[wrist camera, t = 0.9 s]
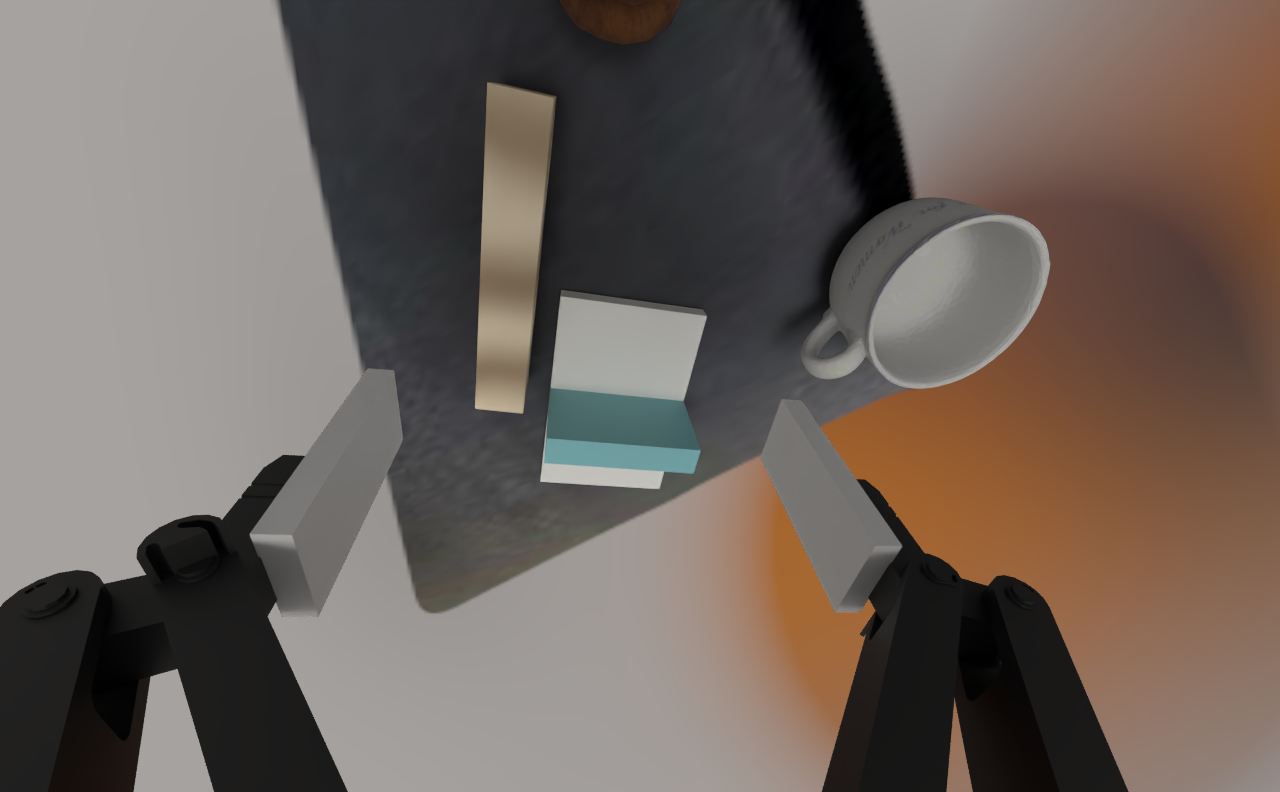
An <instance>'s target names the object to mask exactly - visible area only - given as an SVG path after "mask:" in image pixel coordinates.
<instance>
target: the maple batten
mask: <svg viewBox="0 0 1280 792" xmlns="http://www.w3.org/2000/svg"><path fill="white" fill-rule="evenodd" d="M556 98H557V96H554V95H550V94H545V93H541V92H537V91H533V90H528V89H524V88H520V87H516V86H511V85H507V84H503V83H487V104H486V131H485V158H484V185H483V212H482V238H481V265H480V292H479V319H478V346H477V373H476V400H475V409H483V410H493V411H503V412H513V413H522V414H523V410H524V403H525V397H526V390H527V384H528V377H529V367H530V358H531V348H532V338H533V328H534V318H535V308H536V298H537V288H538V278H539V268H540V258H541V248H542V238H543V228H544V218H545V208H546V198H547V188H548V178H549V168H550V158H551V148H552V138H553V128H554V118H555V108H556Z"/></svg>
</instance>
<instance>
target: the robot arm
mask: <svg viewBox="0 0 1280 792" xmlns="http://www.w3.org/2000/svg"><path fill="white" fill-rule="evenodd" d="M402 440H403V436H402V428H401V420H400V413H399V405H398V398H397V390H396V382H395V375H394V370H381V369H367V370H366V372H365V373H364V374H363V376H362V377H361V379H360V380H359V382H358V383H357V384H356V386H355V387H354V389H353V390H352V391H351V393H350V394H349V395H348V397H347V398H346V400H345V401H344V403H343V404H342V405H341V407H340V408H339V409H338V411H337V412H336V414H335V415H334V417H333V418H332V419H331V421H330V422H329V423H328V425H327V426H326V428H325V429H324V431H323V432H322V433H321V435H320V436H319V438H318V439H317V440H316V442H315V443H314V445H313V446H312V447H311V449H310V450H309V451H308V453H307V454H306V456H295V455H282V456H281V457H280V458H278V459H276V460H275V461H274V462H272V463H270V464H269V465H267V466H266V467H264V468H263V469H262V471H261V472H260V473H259V474H258V476H257V477H256V478H255V480H254V481H253V482H252V485H251V486H249V487H248V488H247V489H246V491H245V492H244V493H243V494H242V498H241V499H238V501H237V502H236V503H235V504H234V506H233V507H232V508H231V509H230V511H229V512H228V513H227V514H226V516H225V517H224V518H223V520H221V519H220V518H219V517H215V516H211V515H194V516H189V517H185V518H182V519H178V520H174V521H172V522H170V523H168V524H166V525H164V526H162V527H159V528H158V529H157V530H155V531H154V532H153V533H151V534H150V535H148V536H147V537H146V538H145V539H144V541H143V542H142V543H141V545H140V546H139V547H138V550H137V560H138V561H139V563H140V565H141V567H142V568H143V570H144V572H145V573H146V575H144V576H139V577H134V578H130V579H126V580H120V581H116V582H111V583H106V584H104V583H103V582H102V580H101V579H100V578H99V577H98V576H96V575H95V574H94V573H92V572H89V571H80V570H75V571H69V572H62V573H57V574H55V575H52V576H49V577H46V578H43V579H40V580H38V581H36V582H34V583H32V584H30V585H28V586H27V587H25V588H23V589H21V590H19V591H18V592H17V593H15V594H14V595H13V596H12V597H10V598H9V599H8V600H6V601H5V602H4V603H3V604H2V606H1V607H0V792H133V791H134V785H135V778H136V771H137V764H138V757H139V749H140V744H141V737H142V730H143V723H144V717H145V710H146V703H147V696H148V690H149V683H150V676H153V675H157V674H160V673H164V672H168V671H171V670H175V669H178V672H179V675H180V678H181V682H182V685H183V688H184V692H185V695H186V699H187V702H188V705H189V709H190V712H191V715H192V719H193V722H194V725H195V729H196V732H197V736H198V739H199V742H200V746H201V749H202V752H203V756H204V759H205V763H206V766H207V769H208V773H209V776H210V779H211V783H212V786H213V790H214V792H348V791H347V789H346V787H345V785H344V783H343V780H342V778H341V776H340V774H339V772H338V769H337V767H336V765H335V763H334V761H333V759H332V756H331V754H330V752H329V750H328V748H327V746H326V743H325V741H324V739H323V737H322V735H321V732H320V730H319V728H318V726H317V724H316V721H315V719H314V717H313V715H312V713H311V711H310V708H309V706H308V704H307V702H306V700H305V697H304V695H303V693H302V691H301V689H300V687H299V684H298V682H297V680H296V678H295V676H294V673H293V671H292V669H291V667H290V665H289V662H288V660H287V658H286V656H285V654H284V652H283V649H282V647H281V645H280V643H279V641H278V639H277V636H276V634H275V632H274V630H273V628H272V626H271V623H270V621H269V619H268V614H269V613H270V611H271V610H272V608H273V606H274V604H275V603H277V606H278V608H279V610H280V613H281V616H282V617H298V616H300V617H302V616H303V617H305V616H319V614H320V612H321V610H322V608H323V606H324V604H325V602H326V599H327V598H328V595H329V593H330V591H331V589H332V587H333V585H334V583H335V581H336V579H337V577H338V574H339V572H340V570H341V568H342V566H343V564H344V562H345V560H346V558H347V556H348V553H349V551H350V549H351V547H352V545H353V543H354V541H355V539H356V537H357V535H358V532H359V531H360V528H361V526H362V524H363V522H364V520H365V518H366V516H367V514H368V511H369V509H370V507H371V505H372V503H373V501H374V499H375V497H376V495H377V493H378V491H379V489H380V487H381V484H382V482H383V480H384V478H385V476H386V474H387V472H388V470H389V468H390V466H391V463H392V461H393V459H394V457H395V455H396V453H397V451H398V449H399V447H400V445H401V443H402ZM760 458H761V460H762V462H763V464H764V466H765V468H766V470H767V472H768V475H769V476H770V479H771V480H772V483H773V485H774V487H775V489H776V491H777V493H778V495H779V497H780V499H781V501H782V503H783V506H784V508H785V510H786V512H787V514H788V516H789V518H790V520H791V522H792V524H793V526H794V528H795V531H796V533H797V535H798V537H799V539H800V541H801V543H802V545H803V547H804V549H805V551H806V553H807V555H808V557H809V560H810V561H811V564H812V566H813V568H814V570H815V572H816V574H817V576H818V578H819V580H820V582H821V584H822V586H823V588H824V591H825V593H826V595H827V597H828V599H829V601H830V603H831V605H832V607H833V609H834V611H835V612H860V611H861V610H862V608H863V606H864V605H865V603H866V602H867V600H868V599H869V600H870V601H871V603H872V605H873V607H874V609H875V610H876V611H875V612H874V614H873V615H872V617H871V618H870V620H869V621H868V623H867V624H866V626H865V627H864V629H863V630H862V632H861V633H860V635H861V636H864V635H865V634H866V636H865V640H864V644H863V647H862V651H861V654H860V658H859V661H858V665H857V669H856V672H855V676H854V679H853V683H852V686H851V690H850V693H849V697H848V700H847V704H846V708H845V711H844V715H843V719H842V722H841V725H840V729H839V732H838V736H837V740H836V743H835V747H834V751H833V754H832V757H831V761H830V765H829V768H828V772H827V775H826V779H825V782H824V786H823V790H822V792H946V789H947V777H948V766H949V754H950V742H951V730H952V719H953V707H954V697H955V702H956V707H957V713H958V718H959V723H960V728H961V733H962V738H963V743H964V748H965V753H966V758H967V764H968V769H969V774H970V779H971V784H972V789H973V792H1128V790H1127V787H1126V785H1125V783H1124V780H1123V778H1122V776H1121V773H1120V771H1119V768H1118V766H1117V764H1116V761H1115V759H1114V757H1113V755H1112V752H1111V750H1110V747H1109V745H1108V743H1107V740H1106V738H1105V736H1104V733H1103V731H1102V729H1101V726H1100V724H1099V722H1098V719H1097V717H1096V715H1095V712H1094V710H1093V708H1092V705H1091V703H1090V701H1089V698H1088V696H1087V694H1086V692H1085V689H1084V687H1083V684H1082V682H1081V680H1080V677H1079V675H1078V673H1077V671H1076V668H1075V666H1074V664H1073V661H1072V659H1071V656H1070V654H1069V652H1068V649H1067V647H1066V645H1065V642H1064V640H1063V638H1062V635H1061V633H1060V631H1059V628H1058V626H1057V624H1056V622H1055V619H1054V617H1053V614H1052V612H1051V610H1050V608H1049V606H1048V604H1047V603H1046V601H1045V600H1044V598H1043V597H1042V596H1041V595H1040V594H1039V593H1038V592H1037V591H1036V590H1035V589H1033V588H1032V587H1031V586H1029V585H1027V584H1026V583H1024V582H1022V581H1020V580H1018V579H1016V578H1014V577H1009V576H1005V575H1003V576H996V578H994V580H993V581H992V582H991V583H990V584H989V585H988V586H986V585H983V584H979V583H976V582H972V581H969V580H965V579H962V578H961V577H960V576H959V574H958V573H957V571H956V570H954V569H953V568H952V567H951V566H950V565H949V564H948V563H946V562H944V561H943V560H942V559H940V558H938V557H936V556H933V555H930V554H925V553H924V552H923V551H922V549H921V548H920V546H919V545H918V544H917V542H916V541H915V540H914V538H913V537H912V536H911V534H910V533H909V532H908V530H907V529H906V527H905V526H904V525H903V523H902V522H901V520H900V519H899V518H898V517H896V514H895V512H894V511H893V509H892V508H891V507H889V506H888V503H887V501H886V500H885V499H884V497H883V496H882V495H881V493H880V492H879V491H878V490H877V489H876V488H875V487H873V486H872V485H871V484H870V483H869V482H867V481H866V480H862V479H856V478H855V477H854V476H853V474H852V473H851V471H850V470H849V468H848V467H847V466H846V464H845V463H844V461H843V460H842V458H841V457H840V455H839V454H838V453H837V451H836V450H835V448H834V447H833V445H832V444H831V442H830V441H829V439H828V438H827V437H826V435H825V434H824V433H823V431H822V429H821V428H820V427H819V425H818V424H817V422H816V421H815V419H814V418H813V416H812V415H811V414H810V412H809V411H808V409H807V408H806V406H805V405H804V403H803V402H802V401H801V400H788V399H782V400H781V403H780V406H779V408H778V411H777V414H776V416H775V419H774V422H773V425H772V427H771V430H770V433H769V435H768V438H767V441H766V444H765V446H764V449H763V452H762V454H761V457H760Z"/></svg>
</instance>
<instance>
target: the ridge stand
mask: <svg viewBox="0 0 1280 792" xmlns="http://www.w3.org/2000/svg"><path fill="white" fill-rule="evenodd" d="M706 318H707V315H706V314H705V312H704V310H703V309H696V308H689V307H682V306H674V305H667V304H660V303H653V302H646V301H638V300H631V299H624V298H617V297H610V296H602V295H595V294H588V293H581V292H573V291H566V290H561V295H560V304H559V313H558V322H557V331H556V341H555V350H554V359H553V368H552V377H551V387H550V396H549V405H548V414H547V424H546V433H545V442H544V451H543V460H542V470H541V481H540V482H554V483H570V484H586V485H602V486H618V487H635V488H651V489H659V488H660V484H661V481H662V477H663V474H664V472H678V473H694V470H695V467H696V464H697V461H698V458H699V455H700V451H701V450H700V447H699V444H698V441H697V438H696V435H695V432H694V430H693V427H692V424H691V421H690V418H689V415H688V412H687V410H686V407H685V404H684V398H685V394H686V390H687V387H688V383H689V379H690V376H691V372H692V369H693V365H694V361H695V358H696V354H697V351H698V347H699V343H700V340H701V336H702V332H703V329H704V325H705V322H706Z"/></svg>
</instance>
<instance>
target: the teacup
mask: <svg viewBox="0 0 1280 792" xmlns="http://www.w3.org/2000/svg"><path fill="white" fill-rule="evenodd" d="M1049 269H1050V262H1049V252H1048V249H1047V245H1046V242H1045V240H1044V238H1043V236H1042V234H1041V233H1040V231H1039V230H1038V229H1037V228H1036V227H1035V226H1033V225H1032V224H1030V223H1029V222H1028V221H1026V220H1023V219H1021V218H1019V217H1016V216H1013V215H1008V214H1002V213H996V212H994V211H991V210H988V209H984V208H981V207H978V206H975V205H971V204H967V203H964V202H960V201H955V200H951V199H944V198H920V199H915V200H910V201H906V202H903V203H900V204H898V205H895V206H893V207H891V208H889V209H887V210H885V211H883V212H881V213H880V214H878V215H877V216H875V217H874V218H872V219H871V220H870V221H869V222H867V223H866V224H865V225H864V226H863V227H862V228H860V229H859V230H858V232H857V233H856V234H855V235H854V236H853V237H852V238H851V239H850V241H849V242H848V243H847V245H846V246H845V248H844V249H843V251H842V253H841V255H840V256H839V258H838V260H837V262H836V265H835V268H834V270H833V273H832V277H831V281H830V290H829V300H830V307H829V309H828V310H826V311H825V313H824V314H823V318H822V320H821V321H820V322H819V323H818V325H817V326H816V327H815V328H814V329H813V330H812V331H811V332H810V334H809V335H808V336H807V338H806V339H805V341H804V343H803V345H802V348H801V359H802V362H803V364H804V366H805V368H806V369H807V371H808V372H809V373H811V374H812V375H814V376H815V377H818V378H821V379H836V378H839V377H842V376H845V375H847V374H849V373H850V372H852V371H853V370H855V369H856V368H857V367H858V366H859V364H860V363H861V362H862V361H863V359H864V358H865V357H866V358H867V359H868V360H869V361H870V362H871V363H872V364H873V365H874V367H875V368H876V369H877V371H878V372H879V373H880V374H881V375H882V376H883V377H884V378H885V379H887V380H888V381H890V382H892V383H894V384H896V385H899V386H902V387H906V388H915V389H924V388H932V387H938V386H941V385H945V384H949V383H952V382H955V381H957V380H960V379H962V378H964V377H966V376H968V375H970V374H972V373H974V372H976V371H977V370H979V369H981V368H982V367H983V366H985V365H986V364H988V363H989V362H990V361H992V360H993V359H994V358H996V357H997V356H998V355H999V354H1001V353H1002V352H1003V351H1004V350H1005V349H1006V348H1007V347H1008V346H1009V345H1010V344H1011V343H1012V342H1013V341H1014V340H1015V339H1016V338H1017V337H1018V336H1019V334H1020V333H1021V332H1022V331H1023V329H1024V328H1025V327H1026V325H1027V324H1028V322H1029V321H1030V319H1031V318H1032V316H1033V314H1034V313H1035V311H1036V309H1037V307H1038V305H1039V303H1040V301H1041V298H1042V295H1043V292H1044V289H1045V287H1046V284H1047V277H1048V273H1049ZM838 331H841V332H842V333H843V335H844V336H845V337H846V340H847V343H848V346H847V348H846V349H845V350H844V351H843V352H841V353H840V354H838V355H836V356H833V357H829V358H819V357H817V356H818V354H819V352H820V350H821V349H822V347H823V346H824V345H825V343H826V342H827V341H828V340H829V339H830V338H831V337H832V336H833V335H834V334H835V333H836V332H838Z"/></svg>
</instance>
